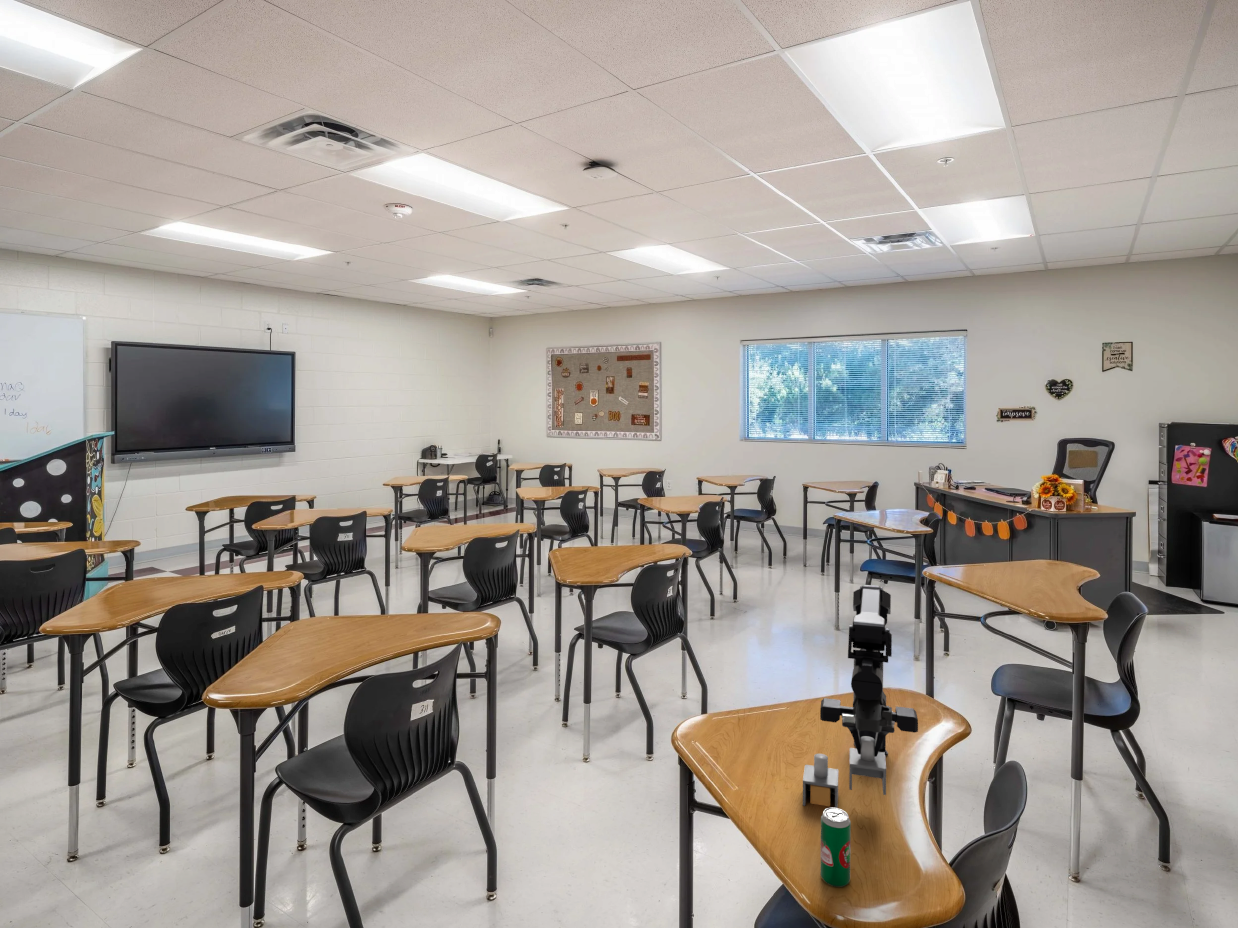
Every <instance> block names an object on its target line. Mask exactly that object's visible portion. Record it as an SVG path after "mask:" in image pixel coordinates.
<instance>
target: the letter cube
mask: <svg viewBox="0 0 1238 928" xmlns="http://www.w3.org/2000/svg"><path fill="white" fill-rule="evenodd" d="M831 796H832V794H831V788H830V787H824V786H817V785H811V791H810V797H809V798H810V803H809V804H814V805H818V806H819V805H820V806H825V807H831V799H832V797H831Z"/></svg>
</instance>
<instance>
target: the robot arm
mask: <svg viewBox="0 0 1238 928" xmlns="http://www.w3.org/2000/svg"><path fill="white" fill-rule="evenodd" d="M852 593H853V594H852V595H853V597H852V609H853V612H855V613H856V614H855V615H854V616H853V620H852V624H849V626H848V646H847V647H848V648H847V649H848V650H847V659H852V660H853V669H852V673H851V674H852V675H851V681H850V687H851V690H852V692H853V695H852V696H853V701H852V706H844V705H841V699H835V698H827V697H824V698H823V699H822V700H821V701H820V714H819V715H820V716H819V717H820V718H819V720H820V721H823V722H828V723H837V722H839V721H840V720H842V721H841V725H842V727H844V728H847V729H848V730H849V733H850V734H851V736H852V739H853V744H854V746H855V749H857V751H858V754H860V751H861V748H860V738H861V737H863V736H869V737H872V738H874V739H875V757H877V755H878V752H884V753H885V756H889V752H888V750H887V748H886V747H887V745H886V744H887V743H886V741H887V735H888V734H893V733H895V725H896V727H897V728H898V729H899V730H900V731H901V732H906V733H907V732H908V733H914V734H915V733H918V732H919V718H918V714H917V711H916V710H915V709H914V708H913V707H905V706H904V707H903V706H895V711H893V708H892V707H891V706H890V705H887V695H886V693H885V692H884V663H887V664H888V663H889V657H892V652H893V650H892V646H893V645H892V643H893V639H892V636H893V634H892V633H891V631H890V629H889V628H888V627H886V625H888V615H891V613H892V612H891V609H892V608H891V603H892V600H891V599H892V595H891V594H890V593H889V592H887V591H885V590H884V587H883V586H881V585H873V584H872V585H871V584H862V585H859V588H858V589H856V590H855V591H853V592H852ZM852 649H853V650H852ZM884 651H885V655H884ZM895 723H896V724H895Z"/></svg>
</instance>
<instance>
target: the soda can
mask: <svg viewBox="0 0 1238 928" xmlns="http://www.w3.org/2000/svg"><path fill="white" fill-rule="evenodd" d="M849 816H850V815H849V814H848V813H847V812H846V811H845V810H843V809H841V808H835V807H827V808H825V809H824V810H823V811H822V815H821V816H820V877H821V878H822V880H823V881H824V882H825V884H826V885H827V884H828V886H831V887H834V888H843V887H845V886H846V885H848V884H849V883H850V881H851V856H852V855H851V843H852V841H851V837H852V835H851V834H852V833H851V832H852V831H851V830H852V825H851V823H852V821H851V819H850V818H849Z"/></svg>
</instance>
